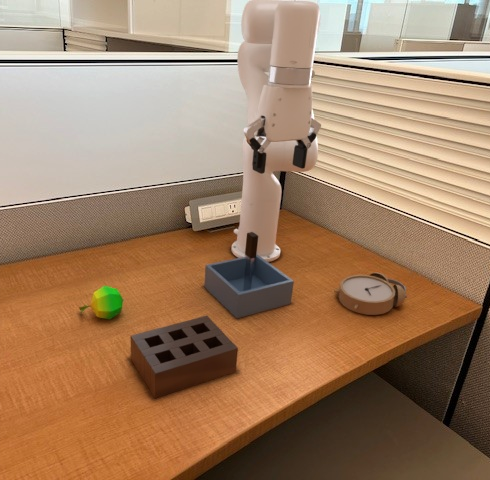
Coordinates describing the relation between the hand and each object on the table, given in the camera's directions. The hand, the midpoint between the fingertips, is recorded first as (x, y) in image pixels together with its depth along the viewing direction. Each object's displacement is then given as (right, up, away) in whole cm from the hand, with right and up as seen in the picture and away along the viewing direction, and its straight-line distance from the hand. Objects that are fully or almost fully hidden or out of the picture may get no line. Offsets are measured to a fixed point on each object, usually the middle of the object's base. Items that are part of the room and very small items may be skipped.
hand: (278, 169), depth 94 cm
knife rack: (-19, -35, -11) cm, 42 cm away
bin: (-5, -26, +11) cm, 29 cm away
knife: (-5, -25, +11) cm, 28 cm away
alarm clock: (+22, -27, +11) cm, 37 cm away
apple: (-35, -29, +2) cm, 46 cm away
